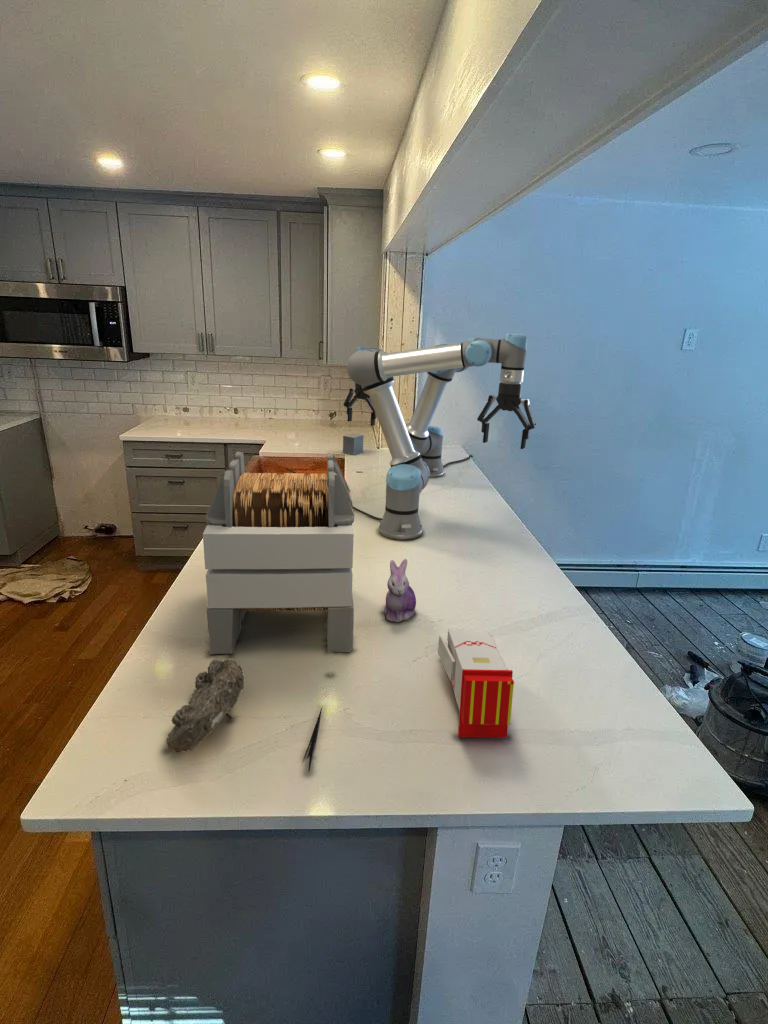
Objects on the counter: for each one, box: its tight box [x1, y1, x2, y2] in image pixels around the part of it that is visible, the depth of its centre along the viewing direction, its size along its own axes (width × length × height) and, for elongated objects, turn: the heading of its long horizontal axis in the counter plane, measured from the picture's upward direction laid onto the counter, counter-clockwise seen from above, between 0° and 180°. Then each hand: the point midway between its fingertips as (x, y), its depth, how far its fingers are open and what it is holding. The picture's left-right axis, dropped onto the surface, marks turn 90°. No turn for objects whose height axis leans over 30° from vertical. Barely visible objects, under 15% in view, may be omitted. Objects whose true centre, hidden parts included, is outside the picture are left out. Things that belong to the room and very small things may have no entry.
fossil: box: [166, 658, 245, 754], centre depth 106 cm, size 22×10×15 cm
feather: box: [301, 673, 332, 771], centre depth 108 cm, size 2×28×2 cm
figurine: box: [384, 558, 417, 623], centre depth 145 cm, size 9×10×15 cm
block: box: [342, 432, 364, 456], centre depth 307 cm, size 7×9×9 cm
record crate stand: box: [202, 451, 355, 655], centre depth 137 cm, size 34×33×41 cm
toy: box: [437, 628, 515, 738], centre depth 117 cm, size 12×13×30 cm
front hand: (503, 445), depth 195 cm, fingers open, 13 cm apart
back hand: (361, 423), depth 281 cm, fingers open, 13 cm apart
